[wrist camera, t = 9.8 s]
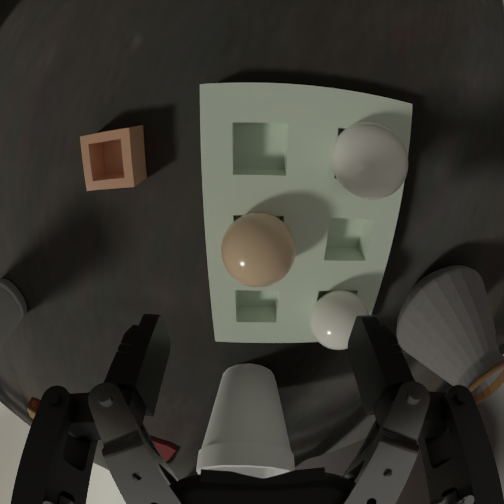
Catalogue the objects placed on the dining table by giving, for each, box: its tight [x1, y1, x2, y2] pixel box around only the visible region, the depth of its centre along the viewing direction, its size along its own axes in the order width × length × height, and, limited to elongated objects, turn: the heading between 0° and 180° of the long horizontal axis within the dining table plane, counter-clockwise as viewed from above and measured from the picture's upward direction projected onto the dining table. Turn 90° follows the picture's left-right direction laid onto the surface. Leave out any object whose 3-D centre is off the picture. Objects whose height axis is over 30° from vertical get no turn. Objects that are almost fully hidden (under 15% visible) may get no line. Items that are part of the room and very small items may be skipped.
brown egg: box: [221, 213, 296, 287], centre depth 18 cm, size 5×5×5 cm
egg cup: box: [80, 125, 147, 191], centre depth 18 cm, size 4×4×2 cm
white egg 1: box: [310, 290, 369, 350], centre depth 21 cm, size 5×5×5 cm
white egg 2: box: [331, 122, 408, 200], centre depth 15 cm, size 5×5×5 cm
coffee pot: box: [396, 265, 504, 404], centre depth 17 cm, size 21×12×15 cm, turn 143°
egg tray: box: [200, 83, 413, 343], centre depth 20 cm, size 21×14×2 cm, turn 179°
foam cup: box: [196, 363, 295, 478], centre depth 26 cm, size 10×9×13 cm
